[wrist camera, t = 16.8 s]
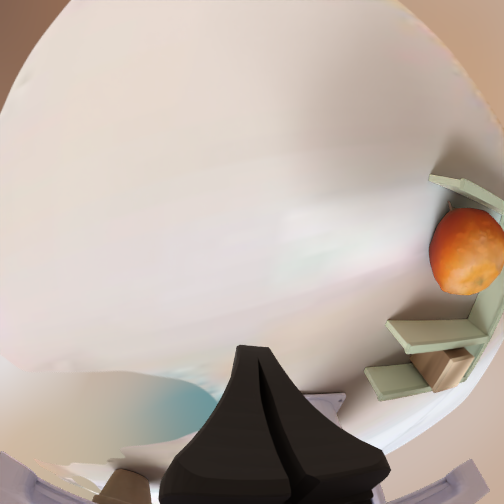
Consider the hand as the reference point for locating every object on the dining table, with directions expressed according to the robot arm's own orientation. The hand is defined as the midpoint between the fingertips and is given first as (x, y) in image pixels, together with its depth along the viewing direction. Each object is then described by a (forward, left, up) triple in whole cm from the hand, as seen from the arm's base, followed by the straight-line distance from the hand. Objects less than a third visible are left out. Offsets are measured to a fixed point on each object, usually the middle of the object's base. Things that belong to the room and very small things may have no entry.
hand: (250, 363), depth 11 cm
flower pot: (-44, +15, -10) cm, 48 cm away
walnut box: (-7, -22, -10) cm, 26 cm away
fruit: (+5, -19, -10) cm, 22 cm away
